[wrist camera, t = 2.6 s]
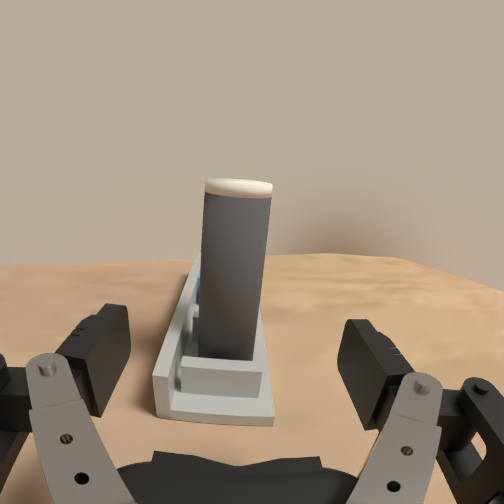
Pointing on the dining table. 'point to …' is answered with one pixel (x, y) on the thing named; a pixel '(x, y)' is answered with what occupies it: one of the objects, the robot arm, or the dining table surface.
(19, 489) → the dining table surface
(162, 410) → the grey slotted rack
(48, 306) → the dining table surface
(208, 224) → the gray cylinder
